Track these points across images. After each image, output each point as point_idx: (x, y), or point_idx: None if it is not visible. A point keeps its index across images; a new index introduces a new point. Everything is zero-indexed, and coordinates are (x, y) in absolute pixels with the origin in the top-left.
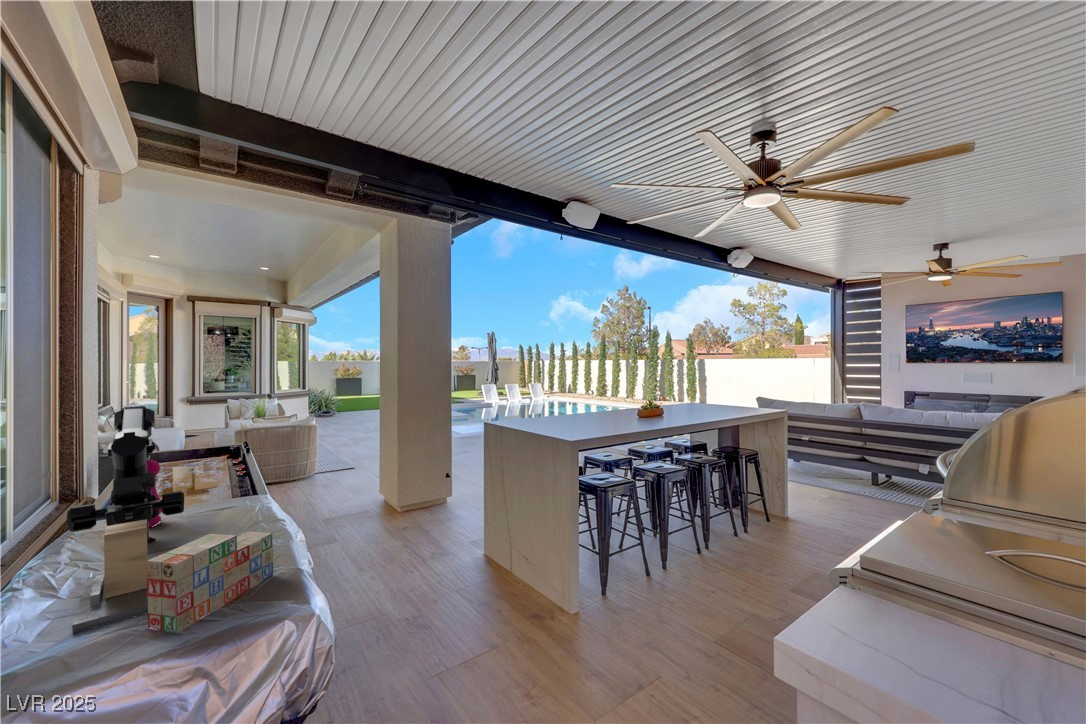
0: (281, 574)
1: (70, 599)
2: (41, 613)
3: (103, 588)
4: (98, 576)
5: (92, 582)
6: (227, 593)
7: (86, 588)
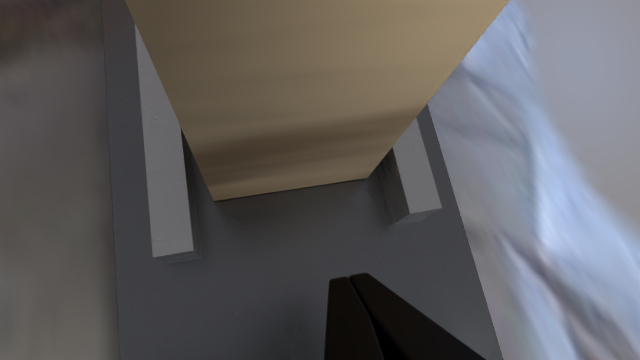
0: None
1: (484, 220)
2: (524, 138)
3: (378, 170)
4: (427, 196)
5: (455, 280)
6: None
7: (451, 212)
